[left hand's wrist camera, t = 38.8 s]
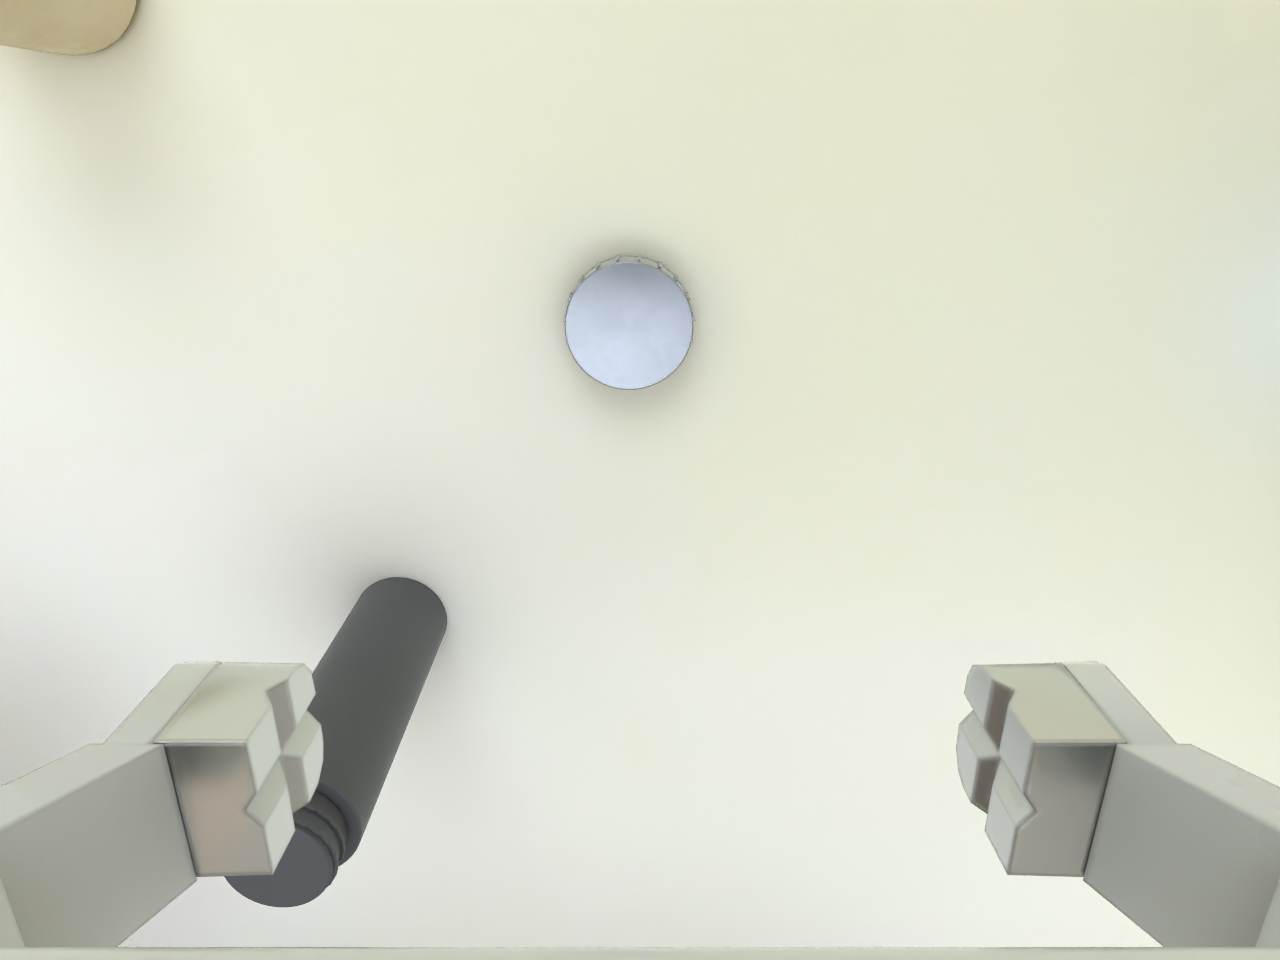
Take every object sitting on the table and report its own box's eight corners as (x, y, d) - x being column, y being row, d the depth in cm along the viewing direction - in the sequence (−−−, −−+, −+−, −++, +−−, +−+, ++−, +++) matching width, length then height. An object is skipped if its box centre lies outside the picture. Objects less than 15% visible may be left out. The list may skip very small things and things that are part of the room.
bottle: (459, 645, 41) (364, 904, 27) (375, 664, 41) (239, 929, 27) (429, 568, 39) (312, 799, 25) (342, 588, 40) (181, 827, 26)
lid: (688, 248, 34) (690, 253, 32) (696, 374, 36) (699, 386, 34) (560, 260, 34) (555, 266, 32) (575, 384, 36) (571, 397, 34)
